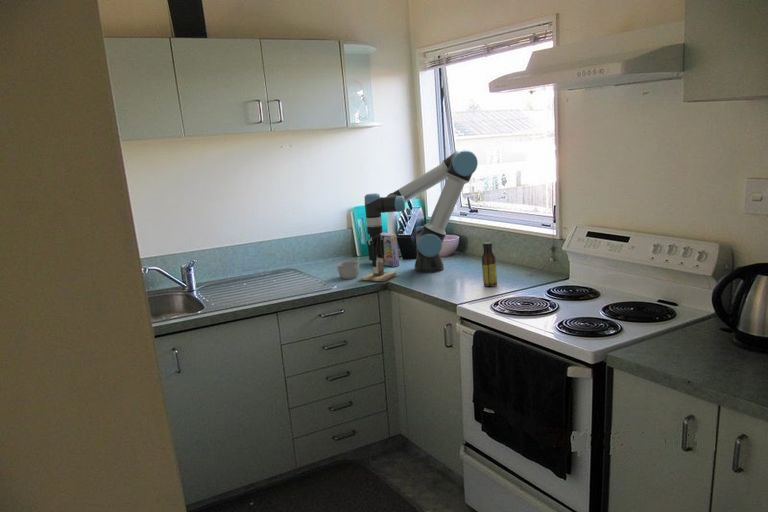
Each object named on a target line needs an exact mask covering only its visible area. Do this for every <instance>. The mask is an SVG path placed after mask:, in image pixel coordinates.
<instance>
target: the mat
mask: <svg viewBox="0 0 768 512" xmlns="http://www.w3.org/2000/svg"><path fill="white" fill-rule="evenodd" d="M398 277H400V275H398V274H396V275H394V276H393V277H391V278H389V279H387V280H385V281H372V280H361V279H359V280H357V281H356V283H370V284H383V285H385V284H387V283H389V282H390V281H392V280H394V279H396V278H398Z"/></svg>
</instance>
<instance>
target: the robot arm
mask: <svg viewBox="0 0 768 512" xmlns="http://www.w3.org/2000/svg"><path fill="white" fill-rule="evenodd" d="M477 168H478V158H477V156H476V154H475V153H473V152H472V151H470V150H468V149H457V150H456V151H454V152H453V153H451V154H450V155H449V156H448V157H446V158H445V159H443V160H441V163H440V164H438V165H437V166H436V167H433V168H432V169H430V170H428V171H426V172H425V173H424V174H422V175H420V176H419V177H417V178H414V180H412V181H410V182H408V183H407V184H405V185H404V186H401V187H400V188H398V189H397V190H395V191H393V192H390V193H389V194H387V196H383V197H382V196H380V193H376V192H375V193H368V194H367V193H366V194H365V195H364V210H365V211H364V213H365V221H366V226H367V227H366V232H367V235H369V240H367V241H366V245H367V250H368V251H367V252H368V259H369V261H371V263H372V264H371V265H373V269H372V272H373V273H379V270H378V263H383V261H382V258H384V255H385V253H384V236H381V233H382V232H384V231H383V221H382V214H384V213H399V212H404V211H405V210H406V203H407V202H408V201H411V199H414V198H415V197H417V196H419V195H420V194H422V193H424V192H425V191H427V190H429V189H431V188H432V187H434V186H436V185H438V184H440V183H441V182H443V181H445V180H446V181H445V184H444V186H443V188H442V191H441V193H440V195H439V198H438V199H437V203H436V205H435V207H434V209H433V212H432V213H431V216H430V219H429V221H428V223H425V224H424V225H423V226H422V225H421V226H416V228H415V232H414V233H415V239H416V242H415V243H416V258H415V259H416V260H415V262H414V271H415V272H417V273H425V274H426V273H438V272H442V271H443V270H444V269H445V268H444V263H443V259H442V257H441V255H440V253H441V251H442V248H443V243H444V240H445V237H446V236H447V233H446V227H447V226H448V224H449V221H450V219H451V216H452V214H453V212H454V210H455V207H456V205H457V202H458V201H459V198H460V196H461V194H462V191H463V189H464V186H465V185H466V184H467V183H469V182H470V181H471V178H472V176H473V174H474V173H475V172H476V171H477ZM377 256H378V258H377Z"/></svg>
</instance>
